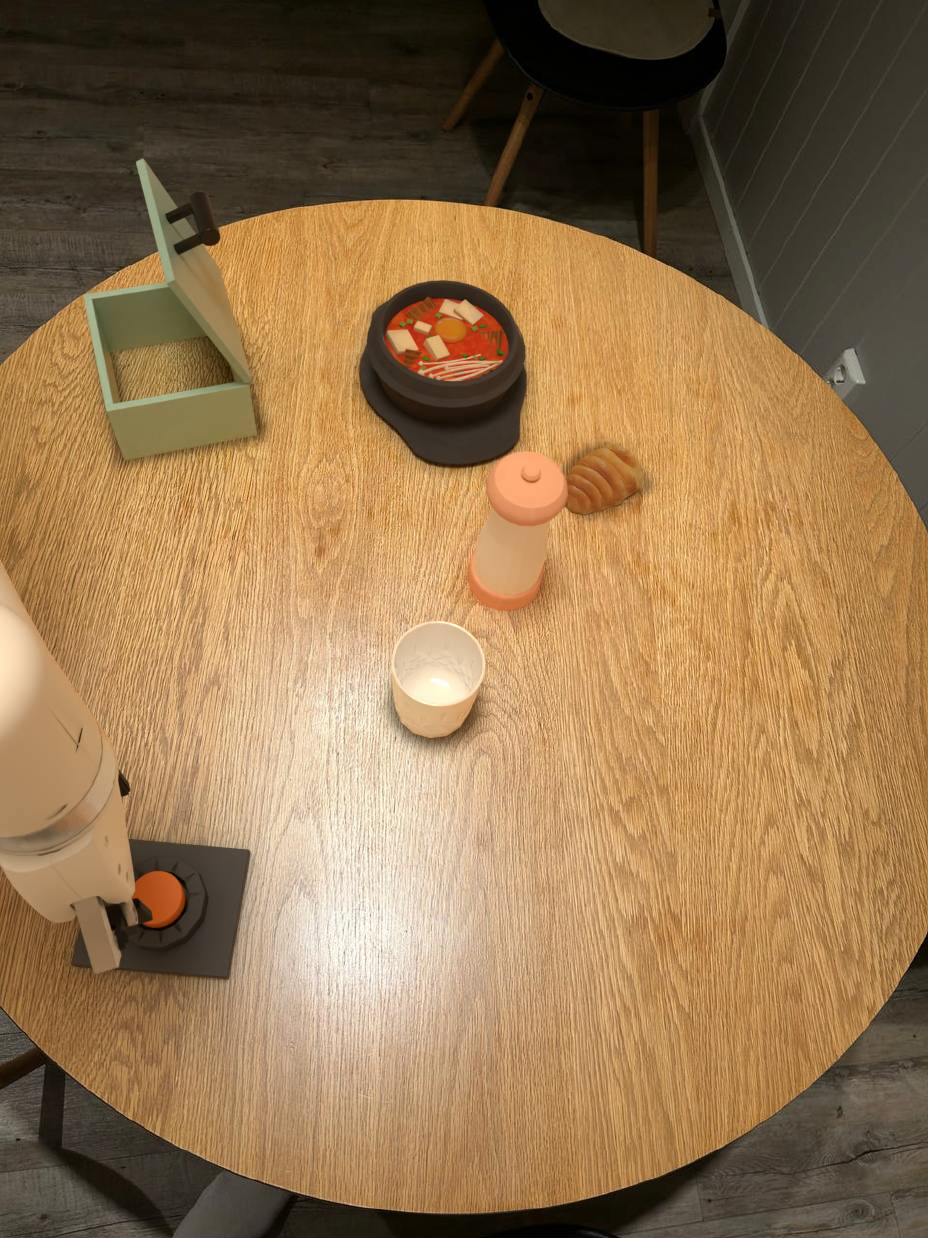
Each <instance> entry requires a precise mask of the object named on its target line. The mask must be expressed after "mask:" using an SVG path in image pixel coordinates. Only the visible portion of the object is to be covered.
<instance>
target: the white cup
mask: <svg viewBox="0 0 928 1238" xmlns="http://www.w3.org/2000/svg"><path fill="white" fill-rule="evenodd" d="M390 661H391V663H390V664H391V683H392V685H391V686H392V695H393V702H394V708H395V710H396V714H397V716H398V719H399V721H400V723H401V724H402V725H404V726H405V728H407V729H408V730H409V731H410V732H411V733H413V734H414V735H417V736H420V737H424V738H428V739H434V738H440V737H441V738H442V737H447V736H449V735H451V734H452V733H453V732H456V730H458V729H459V728H461V727H462V725H463V723H464V722H465V720H466V719H467V717H468V716H469V714H470V712H471V710H472V708H473V705H474V703H475V701H476V699H477V696H478V693H479V691H480V688H481V685H482V683H483V680H484V677H485V674H486V667H487V666H486V665H487V664H486V656H485V653H484V650H483V647H482V646H481V644H480V643H479V641H478V640H477V638H476V637H475V636H474V635H473V634H472V633H471V632H470V631H469V630H467V629H465V628H464V627H462V626H460V625H458V624H455V623H453V622H449V621H444V620H442V621H441V620H430V621H425V622H422V623H419V624H416V625H414V626H412V627H410V628H409V629H408V630H407V631H405V632H404V633H403V634H402V635H401V636H400V637H399V639H398V640H397V642H396V643H395V645H394V648H393V650H392V654H391V660H390Z"/></svg>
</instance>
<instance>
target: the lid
mask: <svg viewBox="0 0 928 1238" xmlns="http://www.w3.org/2000/svg"><path fill="white" fill-rule="evenodd" d="M135 164H136V168H137V172H138V176H139V181H140V184H141V189H142V192H143V196H144V200H145V205H146V208H147V211H148V216H149V221H150V224H151V227H152V228H151V229H152V232H153V236H154V240H155V243H156V247H157V251H158V255H159V260H160V263H161V268H162V271H163V275H164V280H165V282H166V283H167V285H168V286H169V287H170V288H171V290H172V291H173V292H174V294H175V295H176V296H177V297H178V299H179V300H180V301H181V302H182V304H183V305H184V306H185V308H186V309H187V310H188V311H189V313H190V314H191V315H192V316H193V318H194V319H195V320H196V322H197V323H198V324H199V325H200V327H201V328H202V329H203V330H204V332H205V333H206V334H207V336H206V337H208V339H210V341H211V342H212V344H214V346H215V347H216V349H217V350H218V351H219V352H220V354H221V355H222V356H223V357H224V359H225V360H226V361H227V362H228V364H229V366H230V365H231V366H232V367H233V369H234V370H235V371H236V373H237V374H238V375H239V376H240V378H241V379H242V380H243V381H244V383H248V382H252V381H253V378H252V375H251V371H250V368H249V367H250V366H249V364H248V361H247V357H246V353H245V351H244V346H243V343H242V339H241V337H240V332H239V329H238V327H237V322H236V320H235V316H234V312H233V308H232V306H231V301H230V299H229V294H228V291H227V288H226V284H225V281H224V279H223V278H224V277H223V274H222V271H221V268H220V266H219V265H218V263H217V262H216V261H215V259H214V258H213V256H212V255H211V254H210V253H209V250H208V249H207V248H206V246H207V247H214V246H216V245H217V244H219V243H220V241H221V233H220V229H219V226H218V222H217V219H216V216H215V212H214V209H213V206H212V202H211V199H210V196H209V195H208V194H207V193H206V192H204V191H200V190H199V191H195V192H193V193H192V194H190V196H189V199H188V201H189V202H187V203H185V204H183V205H180V206H177V205H176V204H175V202H174V200H173V198H172V197H171V196H170V195H169V193H168V192H167V190H166V188H164V186H163V185H162V183H161V181H160V180H159V179H158V177H157V175H156V174H155V173H154V172H153V170H152V168H151V167H150V166H149V164H148V163H147V161H146V159H144V158H141V159H138V160H136V161H135ZM190 216H192V217H193V220H194V224H195V227H196V230H197V233H196V232H195V231H194V229H193V227H192V226H191V225H190V224H189V222H188V220H187V219H186V218H187V217H190Z"/></svg>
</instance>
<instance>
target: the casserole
mask: <svg viewBox="0 0 928 1238" xmlns="http://www.w3.org/2000/svg"><path fill="white" fill-rule="evenodd" d="M366 334H367V336H366V345H365V346H364V349H363V352H362V354H361V357H360V361H359V370H358V375H359V381H360V387H361V388H362V391H363V394H364V396H365V399H366V400H367V401H368V403H369V404H370V406H372V408H373V409H374V410H375V412H376V413H378V414H379V415H380V416H381V417H382V418H383V419H384V420H385V421H386V422H387V423H388V424H390V425H391V426H392V427H393V428H394V429H395V430H396V431H398V433H399V435H400V436H401V437H402V438H403V439H404V441H405V442H406V444H407V445H408V446H409V447H410V448H411V450H412V451H413V452H414V454H416V455H417V456H419V457H421V458H422V459H424V460H425V461H429V462H434V463H438V464H443V465H468V464H476V463H480V462H484V461H489V460H491V459H493V458H496V457H498V456H500V455H503V454H504V453H506V452H507V451H509V450H510V449H512V448H513V447H514V446H515V444H516V443H517V442H518V439H519V438H520V433H521V432H520V431H521V430H520V429H521V410H522V405H523V402H524V398H525V396H526V395H525V394H526V391H527V387H528V383H527V382H528V380H527V371H526V367H525V360H526V344H525V340H524V336H523V334H522V331H521V330H520V328H519V326H518V324H517V322H516V320H515V318H514V316H513V315H512V313H511V312H510V310H509V308H508V307H506V305H505V304H504V303H503V302H502V301H501V300H499V299H498V298H497V297H496V296H495V295H493V294H492V293H489V292H488V291H486V290H484V289H483V288H480V287H477V286H475V285H473V284H469V283H466V282H461V281H455V280H445V279H442V280H441V279H440V280H439V279H438V280H428V281H427V280H426V281H424V282H423V281H422V282H418V283H415V284H412V285H409V286H407V287H404V288H403V289H402V290H400V291H398V292H396V293H395V294H393V296H391V298H390V299H389V300H387V301H385V302H383V303H381V304H380V305H378V306H377V307H376V309H375V310H374V311H373V313H371V319H370V323H369V328H368V330H367V333H366Z"/></svg>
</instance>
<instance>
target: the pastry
mask: <svg viewBox="0 0 928 1238" xmlns="http://www.w3.org/2000/svg"><path fill="white" fill-rule="evenodd" d="M565 478H566V480H567V490H568V498H567V501H566V504H565V507H564V508H566V509H567V510H568V511H569V512H570V513H574V514H578V515H582V516H588V515H590V514H594V513H598V512H604V511H605V510H609V509H610V508H613V507H618V506H619V505H621V504H623V502H624V500H626V499H628V498H629V497H630V496H632V495H633V494H635V493H637V492H638V491H639V490H643V489H644V488H645V479H644V474H643V471H642V468H641V464H640V462H639V460H638V459H637V458H636V457H635V455H634V454H633V453H632V452H631V451H630V450H629V449H628V448H625V447H622V446H621V445H619V444H617V443H616V444H615V443H607V444H606V445H604V446H603V447H600V448H597V449H595V450H591V451H589V452H588V453H587V454H586V455H585V456H583V458H581V459H579V460H578V461H577V462H576V463H575V464H574V466H572V468H571V470H570V472H569V473H568V474H567V476H566V477H565Z"/></svg>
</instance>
